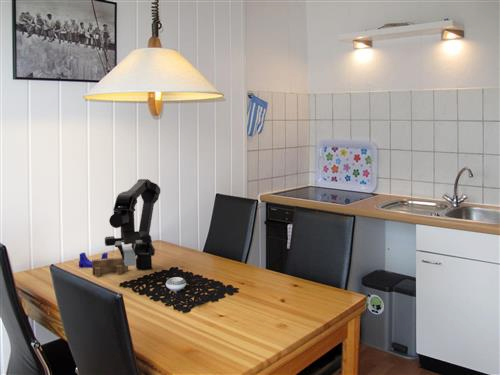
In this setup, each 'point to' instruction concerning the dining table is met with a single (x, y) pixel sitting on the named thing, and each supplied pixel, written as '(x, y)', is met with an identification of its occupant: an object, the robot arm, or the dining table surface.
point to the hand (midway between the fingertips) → (128, 259)
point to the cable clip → (86, 262)
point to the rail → (129, 256)
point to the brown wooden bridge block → (108, 266)
